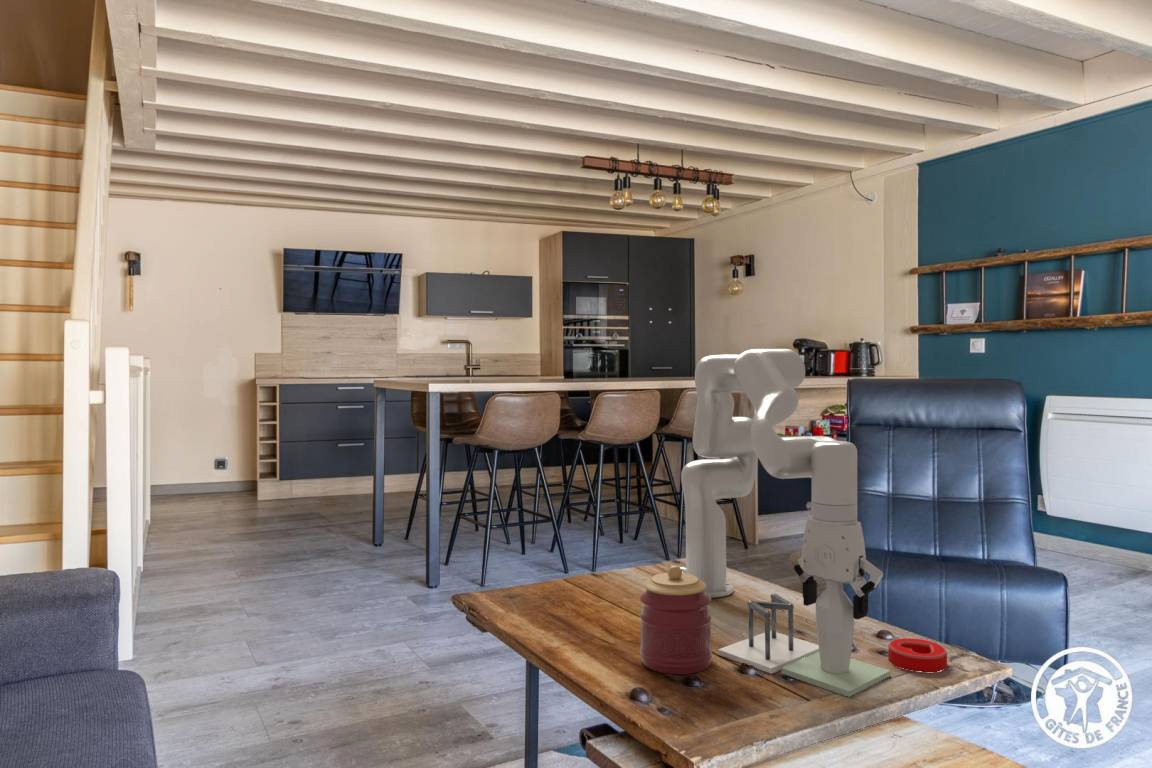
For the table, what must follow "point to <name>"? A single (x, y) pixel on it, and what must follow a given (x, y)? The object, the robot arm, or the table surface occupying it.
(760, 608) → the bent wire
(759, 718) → the table surface
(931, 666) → the decorative ornament
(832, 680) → the pale green flat panel
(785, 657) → the wire board
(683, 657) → the canister
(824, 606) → the faceted bottle
